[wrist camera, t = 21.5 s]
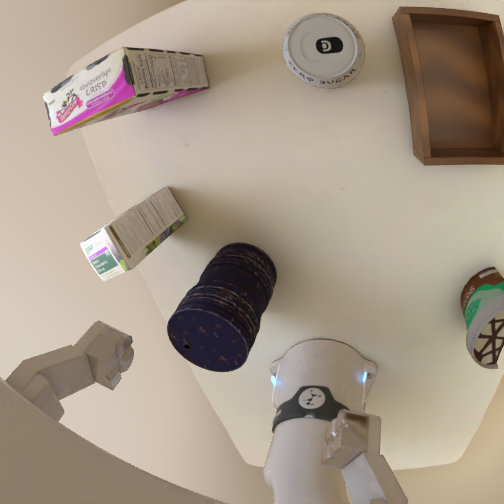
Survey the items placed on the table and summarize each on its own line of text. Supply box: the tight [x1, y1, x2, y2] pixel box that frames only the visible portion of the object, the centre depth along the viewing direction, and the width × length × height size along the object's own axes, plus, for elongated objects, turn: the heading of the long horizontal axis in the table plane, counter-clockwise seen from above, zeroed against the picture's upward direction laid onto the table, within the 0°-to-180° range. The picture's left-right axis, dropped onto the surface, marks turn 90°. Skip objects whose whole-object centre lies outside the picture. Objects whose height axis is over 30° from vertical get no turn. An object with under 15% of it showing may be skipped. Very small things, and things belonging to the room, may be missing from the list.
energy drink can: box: [283, 13, 365, 89], centre depth 24 cm, size 6×6×15 cm
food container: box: [461, 267, 504, 369], centre depth 34 cm, size 12×6×10 cm, turn 12°
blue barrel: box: [167, 243, 277, 372], centre depth 41 cm, size 10×10×15 cm
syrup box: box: [80, 187, 187, 282], centre depth 39 cm, size 6×6×14 cm
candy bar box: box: [43, 47, 209, 136], centre depth 29 cm, size 11×5×16 cm, turn 103°
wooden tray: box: [392, 7, 504, 165], centre depth 25 cm, size 17×12×6 cm
